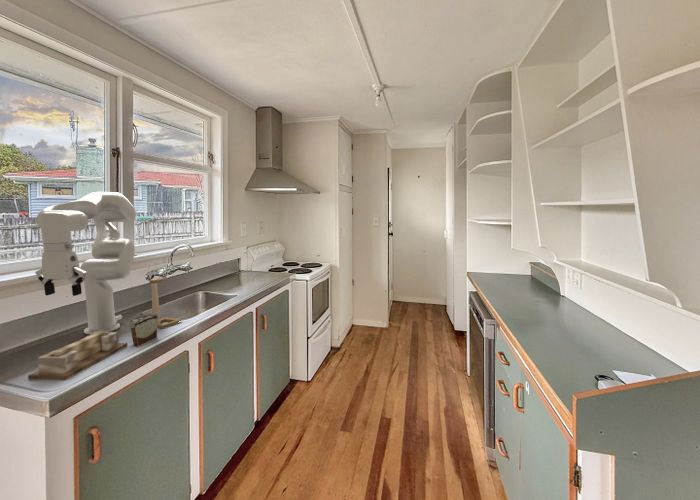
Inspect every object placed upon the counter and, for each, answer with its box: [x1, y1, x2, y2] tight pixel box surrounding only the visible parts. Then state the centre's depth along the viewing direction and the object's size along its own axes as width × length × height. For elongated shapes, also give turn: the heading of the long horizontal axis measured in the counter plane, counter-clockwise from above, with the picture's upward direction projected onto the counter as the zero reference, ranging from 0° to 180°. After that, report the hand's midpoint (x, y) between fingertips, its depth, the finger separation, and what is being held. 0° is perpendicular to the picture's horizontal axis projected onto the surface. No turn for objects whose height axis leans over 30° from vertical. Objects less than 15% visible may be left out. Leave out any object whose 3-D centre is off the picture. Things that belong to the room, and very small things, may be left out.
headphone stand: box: [148, 276, 182, 330], centre depth 150 cm, size 10×11×22 cm
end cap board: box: [27, 331, 128, 381], centre depth 113 cm, size 26×12×6 cm, turn 177°
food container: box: [127, 313, 159, 348], centre depth 130 cm, size 12×6×10 cm, turn 168°
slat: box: [53, 332, 106, 361], centre depth 113 cm, size 18×2×6 cm, turn 178°
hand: (63, 294), depth 117 cm, fingers open, 9 cm apart
